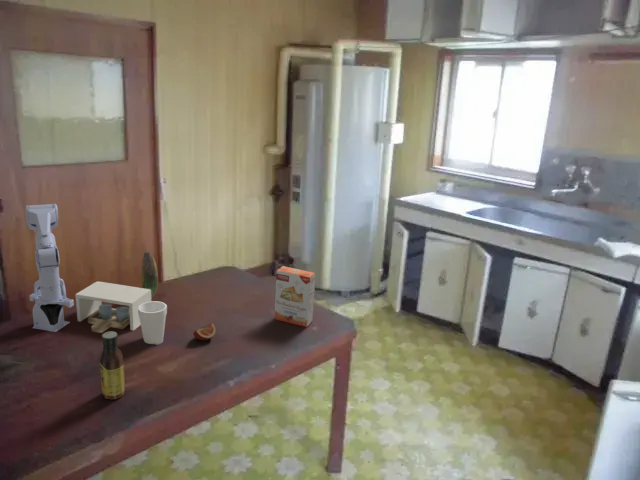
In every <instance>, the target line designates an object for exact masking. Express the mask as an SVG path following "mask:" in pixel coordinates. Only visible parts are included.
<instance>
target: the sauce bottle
mask: <svg viewBox="0 0 640 480" xmlns="http://www.w3.org/2000/svg"><path fill="white" fill-rule="evenodd" d="M118 336H119V335H118V332H116V331H113V330H112V331H110V330H109V331H106V332H103V333H102V334H101V341H102V349H103V350H102V352H101V355H100V357H99V370H100V383H101V392H102V396H103V397H104V399H106V400H107V399H108V400H110V401H111V400H117V399H120V398H122V397H123V395H124V394H125V393H126V392H125V391H126V389H125V388H126V385H125V384H126V382H125V379H126V378H125V366H124V357H123V356H124V355H123V353H122V350H120V348H118V347H119V346H118Z"/></svg>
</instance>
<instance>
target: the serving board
mask: <svg viewBox="0 0 640 480" xmlns="http://www.w3.org/2000/svg"><path fill="white" fill-rule="evenodd" d="M116 309H117V308H113V307H112V314H113V317H112V318H111V319H109V320H102V319H100V312H99V310H97V311H95V312H94V313H92V314H91V315H90V316H88V317H87V324H91V327H90V328H91V332H92V333H99V334H104V333H105V331H107V330H108V329H109V328H114V329H119V330H120V329H121V330H123V329H125V328H126V327H128V326H130V311H129V318H127V319H126V320H125V321H123V322H122V323H120V322H117V318H116Z"/></svg>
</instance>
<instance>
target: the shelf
mask: <svg viewBox="0 0 640 480" xmlns="http://www.w3.org/2000/svg"><path fill="white" fill-rule="evenodd" d="M74 296H75V305H76V317H77V318H76V319H77V322H82V321H84V320H85V319H86V318H87V319H88V317H90V316H91V315H93V314H94V313H96V312H97V311H99V306H100V305H103V303H107V304H116V305H121V306H125V307H128V308H129V311H130V324H129V326H130V331H135V330H136V329H137V328H139V327H141V323H140V318H139V315H138V306H139V305H141V304H142V303H145V302H150V301H152V298H151V289H144V288H142V287H138V286H130V285H126V284H125V285H124V284H118V283H111V282H106V281H97V280H96V282H93V283H91V284H90V285H89V286H87V287H85V288H84V289H82V290H80V291H79V292H76V293H75V295H74ZM102 302H103V303H102Z"/></svg>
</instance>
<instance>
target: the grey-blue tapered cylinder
mask: <svg viewBox="0 0 640 480" xmlns="http://www.w3.org/2000/svg"><path fill="white" fill-rule="evenodd" d="M115 309H116V318H117V322H120V323H122V322H123V321H125V320H126V319H127V318H129V306H119V307H116V308H115Z"/></svg>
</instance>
